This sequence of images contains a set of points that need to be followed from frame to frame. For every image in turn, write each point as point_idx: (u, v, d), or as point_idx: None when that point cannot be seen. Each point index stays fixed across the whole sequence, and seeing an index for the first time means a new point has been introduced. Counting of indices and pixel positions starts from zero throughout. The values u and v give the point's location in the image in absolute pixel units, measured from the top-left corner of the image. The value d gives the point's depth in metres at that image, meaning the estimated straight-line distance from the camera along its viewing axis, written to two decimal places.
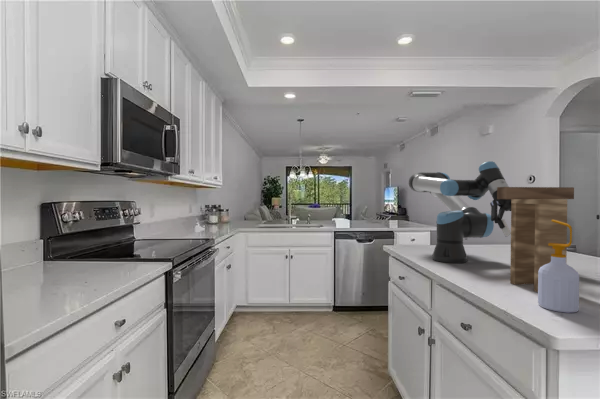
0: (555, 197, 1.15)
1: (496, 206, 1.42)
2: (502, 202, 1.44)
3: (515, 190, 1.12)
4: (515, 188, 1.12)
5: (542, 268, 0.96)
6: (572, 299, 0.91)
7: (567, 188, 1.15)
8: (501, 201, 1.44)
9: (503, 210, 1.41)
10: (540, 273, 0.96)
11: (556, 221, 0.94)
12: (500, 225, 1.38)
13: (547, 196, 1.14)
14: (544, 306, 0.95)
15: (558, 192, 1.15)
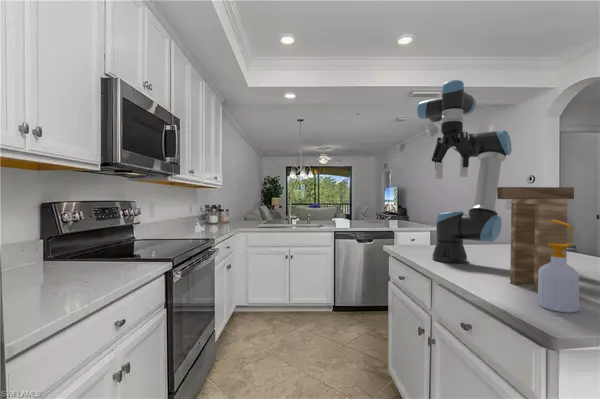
0: (555, 197, 1.15)
1: (437, 146, 1.37)
2: None
3: (515, 190, 1.12)
4: (515, 188, 1.12)
5: (542, 268, 0.96)
6: (572, 299, 0.91)
7: (567, 188, 1.15)
8: (443, 138, 1.33)
9: (440, 150, 1.35)
10: (540, 273, 0.96)
11: (556, 221, 0.94)
12: None
13: (547, 196, 1.14)
14: (544, 306, 0.95)
15: (558, 192, 1.15)
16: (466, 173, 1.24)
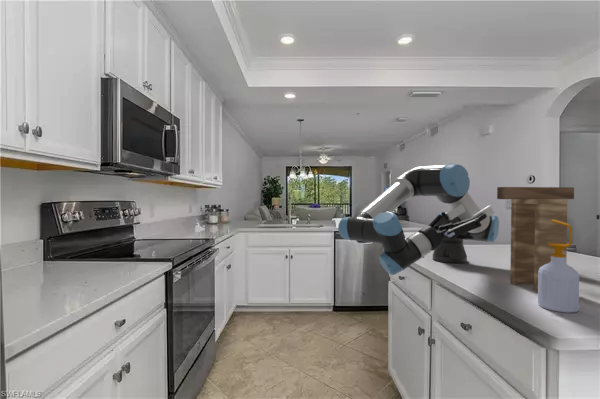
0: (555, 197, 1.15)
1: None
2: None
3: (515, 190, 1.12)
4: (515, 188, 1.12)
5: (542, 268, 0.96)
6: (572, 299, 0.91)
7: (567, 188, 1.15)
8: None
9: None
10: (540, 273, 0.96)
11: (556, 221, 0.94)
12: None
13: (547, 196, 1.14)
14: (544, 306, 0.95)
15: (558, 192, 1.15)
16: (488, 208, 1.05)
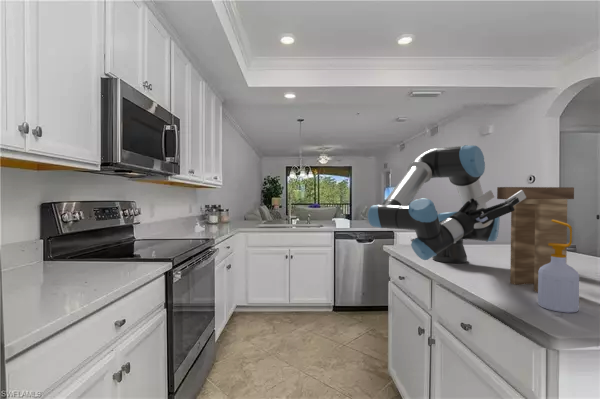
0: (555, 197, 1.15)
1: None
2: None
3: (515, 190, 1.12)
4: (515, 188, 1.12)
5: (542, 268, 0.96)
6: (572, 299, 0.91)
7: (567, 188, 1.15)
8: None
9: None
10: (540, 273, 0.96)
11: (556, 221, 0.94)
12: None
13: (547, 196, 1.14)
14: (544, 306, 0.95)
15: (558, 192, 1.15)
16: (520, 193, 1.06)
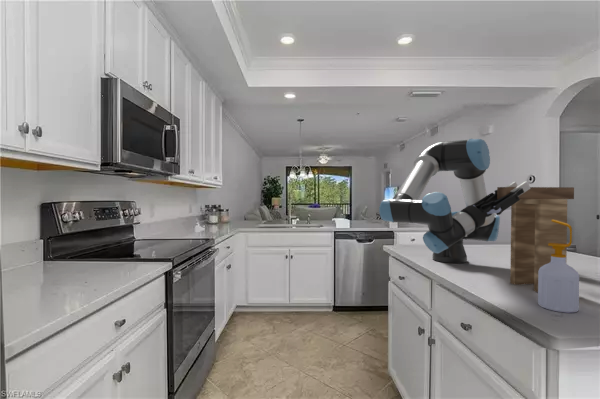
0: (555, 197, 1.15)
1: None
2: None
3: None
4: None
5: (542, 268, 0.96)
6: (572, 299, 0.91)
7: (567, 188, 1.15)
8: None
9: None
10: (540, 273, 0.96)
11: (556, 221, 0.94)
12: None
13: (547, 196, 1.14)
14: (544, 306, 0.95)
15: (558, 192, 1.15)
16: (525, 184, 1.12)
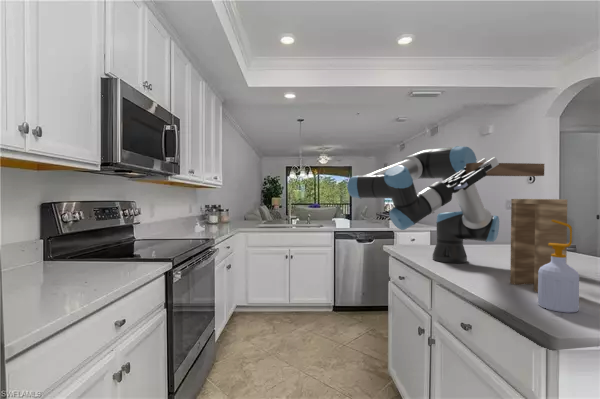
0: (525, 173, 1.12)
1: None
2: None
3: None
4: None
5: (542, 268, 0.96)
6: (572, 299, 0.91)
7: (537, 164, 1.13)
8: None
9: None
10: (540, 273, 0.96)
11: (556, 221, 0.94)
12: None
13: (517, 172, 1.12)
14: (544, 306, 0.95)
15: (528, 169, 1.13)
16: (493, 159, 1.09)
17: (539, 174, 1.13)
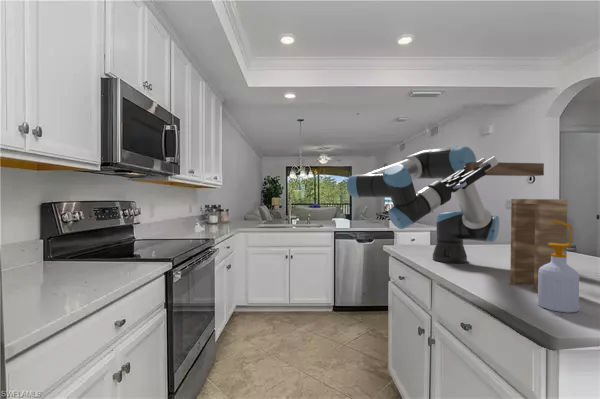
0: (524, 173, 1.12)
1: None
2: None
3: None
4: None
5: (542, 268, 0.96)
6: (572, 299, 0.91)
7: (537, 164, 1.13)
8: None
9: None
10: (540, 273, 0.96)
11: (556, 221, 0.94)
12: None
13: (516, 172, 1.12)
14: (544, 306, 0.95)
15: (527, 168, 1.12)
16: (492, 159, 1.09)
17: (538, 174, 1.13)
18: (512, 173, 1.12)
